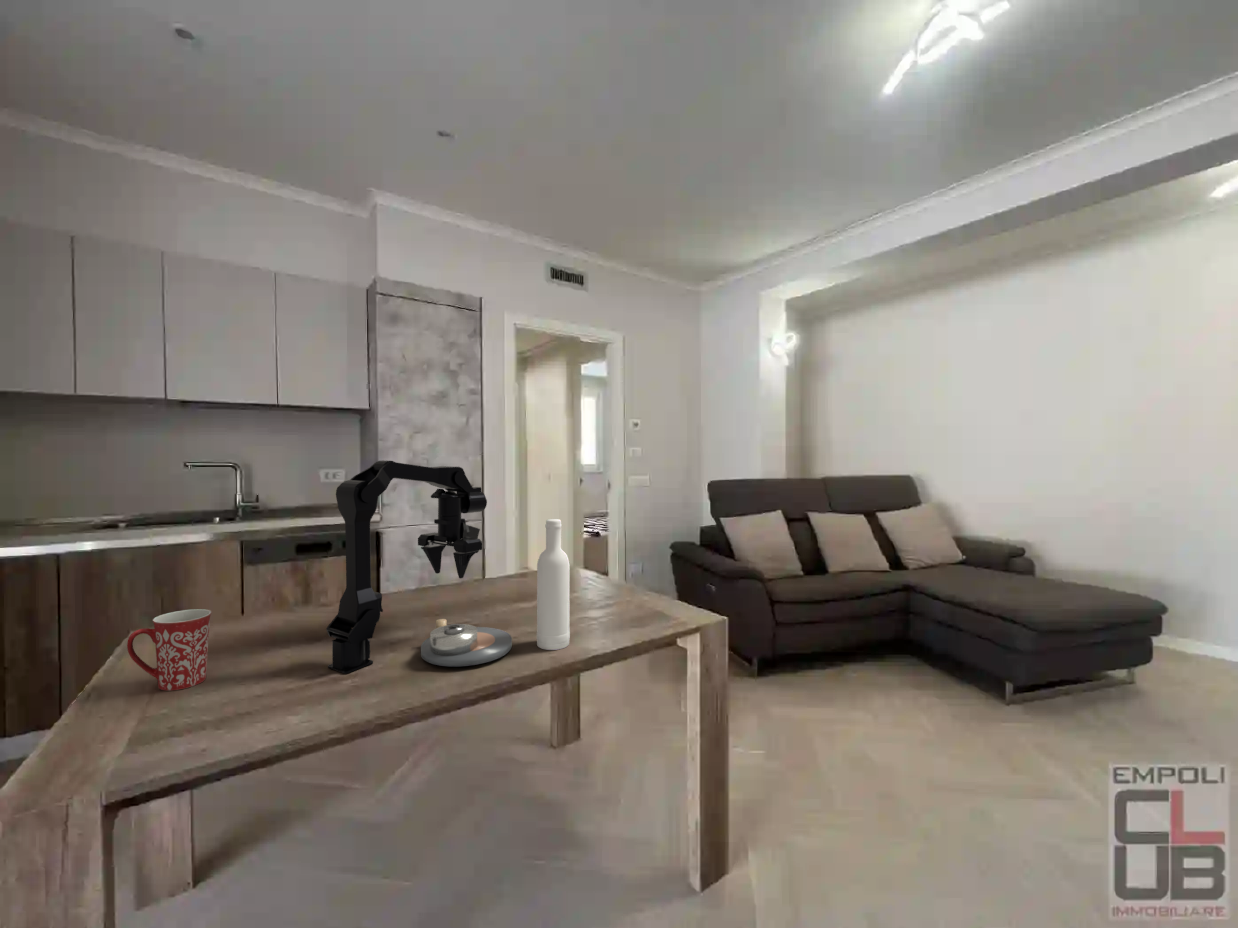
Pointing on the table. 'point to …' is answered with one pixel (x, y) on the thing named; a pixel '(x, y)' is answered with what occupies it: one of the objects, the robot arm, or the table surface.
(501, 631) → the turntable
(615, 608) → the table surface
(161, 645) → the mug
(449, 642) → the cover
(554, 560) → the bottle
